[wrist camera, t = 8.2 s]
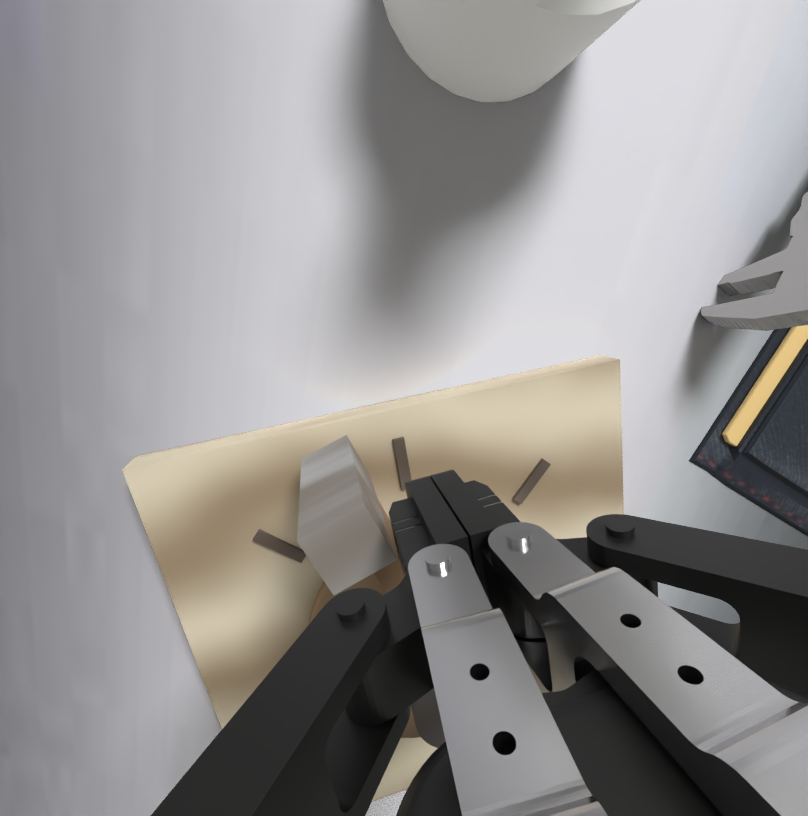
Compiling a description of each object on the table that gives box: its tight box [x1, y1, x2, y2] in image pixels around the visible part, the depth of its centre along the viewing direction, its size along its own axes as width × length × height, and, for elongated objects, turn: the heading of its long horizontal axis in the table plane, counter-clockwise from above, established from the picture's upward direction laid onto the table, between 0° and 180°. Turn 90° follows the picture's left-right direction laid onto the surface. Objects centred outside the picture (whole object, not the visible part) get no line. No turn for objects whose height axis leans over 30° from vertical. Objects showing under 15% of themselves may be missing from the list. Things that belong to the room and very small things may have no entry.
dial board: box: [122, 355, 624, 801], centre depth 23 cm, size 22×22×2 cm
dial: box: [297, 435, 446, 748], centre depth 18 cm, size 17×12×7 cm
